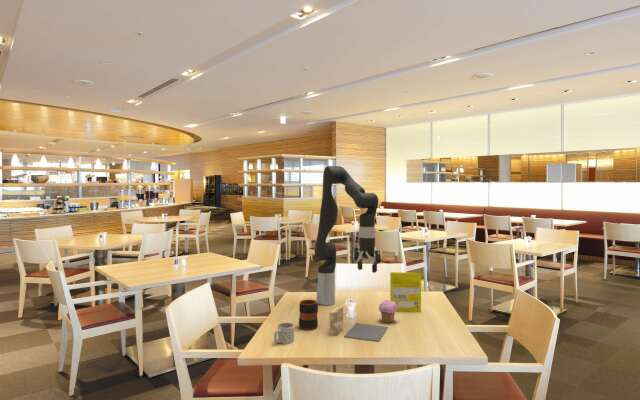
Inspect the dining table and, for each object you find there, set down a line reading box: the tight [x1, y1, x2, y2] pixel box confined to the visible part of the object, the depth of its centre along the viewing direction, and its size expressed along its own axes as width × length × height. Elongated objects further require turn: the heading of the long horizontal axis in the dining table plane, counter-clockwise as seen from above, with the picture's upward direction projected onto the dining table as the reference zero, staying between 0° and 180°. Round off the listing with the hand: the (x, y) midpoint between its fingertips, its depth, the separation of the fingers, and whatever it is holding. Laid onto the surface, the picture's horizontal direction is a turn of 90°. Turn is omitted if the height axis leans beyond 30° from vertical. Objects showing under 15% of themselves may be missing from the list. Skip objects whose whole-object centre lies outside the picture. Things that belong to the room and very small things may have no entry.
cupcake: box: [378, 299, 398, 323], centre depth 204 cm, size 9×9×10 cm
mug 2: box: [298, 299, 319, 331], centre depth 198 cm, size 9×12×12 cm
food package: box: [389, 271, 422, 313], centre depth 219 cm, size 15×1×20 cm, turn 84°
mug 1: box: [273, 322, 295, 345], centre depth 179 cm, size 10×7×7 cm
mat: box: [343, 322, 389, 343], centre depth 190 cm, size 15×18×1 cm
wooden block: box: [329, 306, 344, 336], centre depth 190 cm, size 3×8×10 cm, turn 159°
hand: (367, 271), depth 200 cm, fingers open, 8 cm apart
